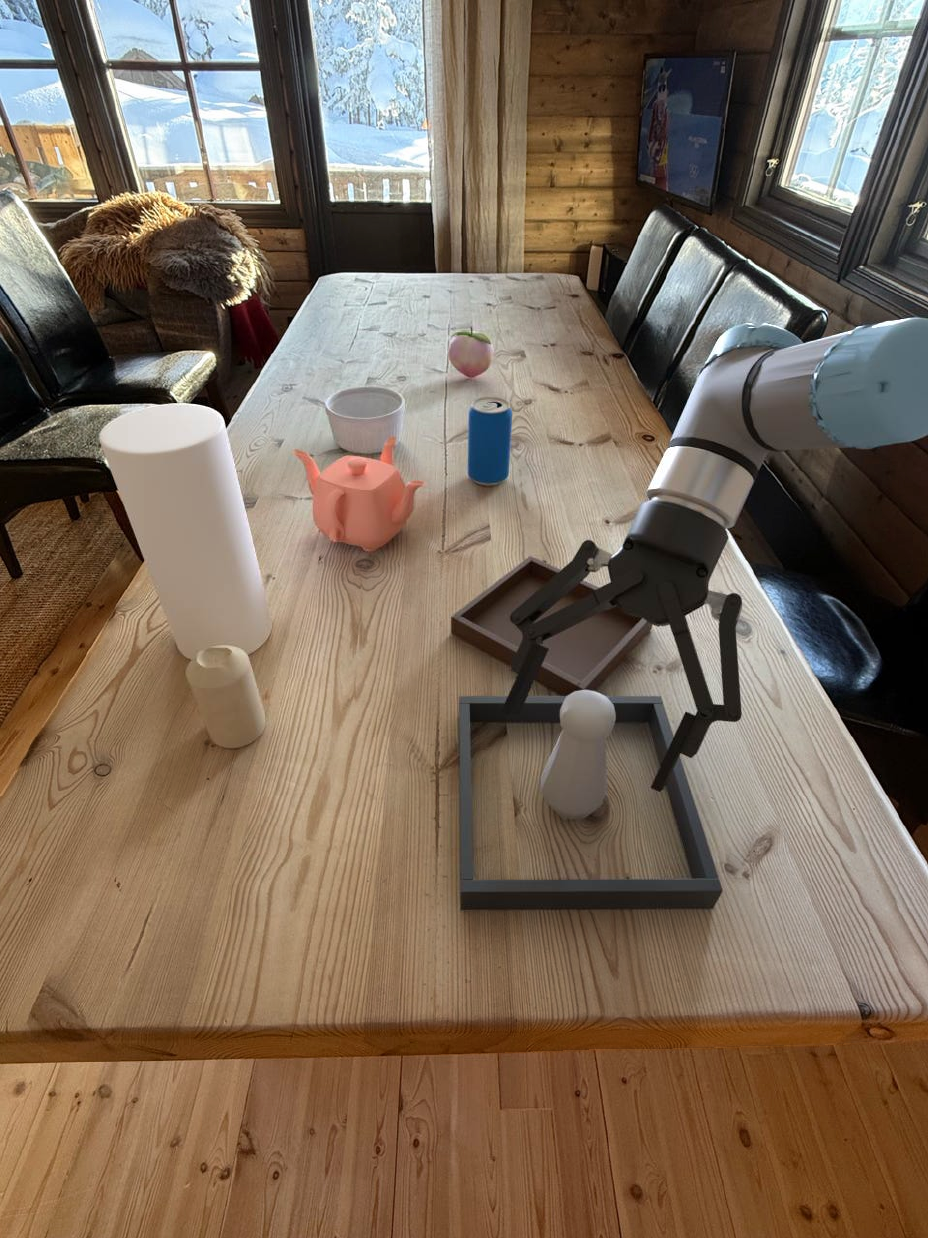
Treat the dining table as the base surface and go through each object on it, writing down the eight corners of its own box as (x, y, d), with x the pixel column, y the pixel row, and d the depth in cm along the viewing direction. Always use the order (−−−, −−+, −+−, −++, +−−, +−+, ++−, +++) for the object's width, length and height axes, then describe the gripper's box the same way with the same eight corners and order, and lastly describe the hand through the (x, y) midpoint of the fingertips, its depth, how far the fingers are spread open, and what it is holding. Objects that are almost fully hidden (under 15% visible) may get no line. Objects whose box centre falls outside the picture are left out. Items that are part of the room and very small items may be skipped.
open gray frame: (654, 715, 67) (661, 695, 65) (713, 909, 52) (723, 891, 50) (459, 715, 67) (459, 695, 65) (460, 910, 52) (460, 892, 50)
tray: (651, 630, 77) (655, 613, 75) (580, 707, 68) (584, 689, 66) (528, 571, 85) (529, 555, 84) (450, 633, 76) (450, 616, 75)
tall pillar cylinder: (290, 632, 76) (245, 427, 60) (204, 678, 70) (129, 466, 54) (242, 590, 82) (189, 393, 65) (159, 630, 76) (79, 425, 60)
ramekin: (413, 453, 110) (411, 413, 105) (333, 462, 107) (328, 421, 103) (399, 420, 120) (397, 382, 115) (326, 427, 117) (321, 389, 113)
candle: (267, 703, 68) (248, 631, 61) (265, 745, 64) (243, 672, 57) (212, 709, 67) (186, 637, 60) (205, 752, 63) (177, 680, 56)
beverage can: (516, 477, 104) (521, 404, 96) (489, 492, 101) (492, 417, 93) (486, 463, 107) (489, 391, 100) (459, 477, 104) (459, 404, 96)
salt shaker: (551, 765, 62) (567, 668, 54) (610, 787, 60) (636, 691, 52) (528, 813, 58) (541, 717, 50) (590, 839, 56) (615, 744, 48)
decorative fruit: (499, 374, 137) (502, 323, 131) (484, 387, 132) (486, 336, 125) (458, 367, 140) (459, 317, 134) (442, 380, 135) (441, 329, 128)
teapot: (303, 515, 95) (291, 444, 88) (399, 499, 99) (395, 430, 92) (322, 572, 85) (311, 497, 78) (428, 551, 89) (426, 478, 81)
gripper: (841, 578, 52) (729, 819, 53) (564, 486, 63) (473, 687, 63) (855, 556, 46) (726, 832, 46) (541, 456, 56) (439, 682, 57)
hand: (579, 749), depth 55 cm, fingers open, 13 cm apart
